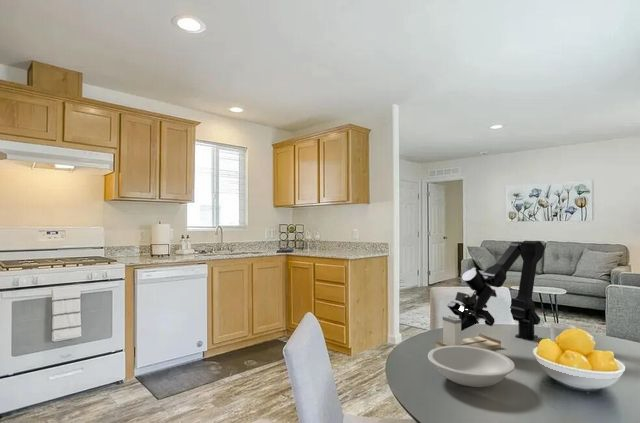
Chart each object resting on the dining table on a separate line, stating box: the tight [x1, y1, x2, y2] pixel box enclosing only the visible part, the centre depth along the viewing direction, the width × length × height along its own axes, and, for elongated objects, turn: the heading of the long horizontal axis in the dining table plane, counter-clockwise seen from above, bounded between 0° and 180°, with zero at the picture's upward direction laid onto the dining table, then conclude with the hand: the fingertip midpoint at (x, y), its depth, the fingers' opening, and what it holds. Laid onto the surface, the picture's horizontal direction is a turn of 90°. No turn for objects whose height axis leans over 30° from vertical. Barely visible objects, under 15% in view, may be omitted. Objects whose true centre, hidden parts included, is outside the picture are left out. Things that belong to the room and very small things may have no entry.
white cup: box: [549, 322, 577, 341], centre depth 134 cm, size 8×8×10 cm
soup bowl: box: [427, 346, 516, 388], centre depth 112 cm, size 24×24×7 cm
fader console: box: [435, 333, 502, 351], centre depth 141 cm, size 22×10×2 cm, turn 113°
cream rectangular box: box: [442, 315, 462, 346], centre depth 138 cm, size 3×6×10 cm, turn 23°
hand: (457, 330), depth 139 cm, fingers closed
